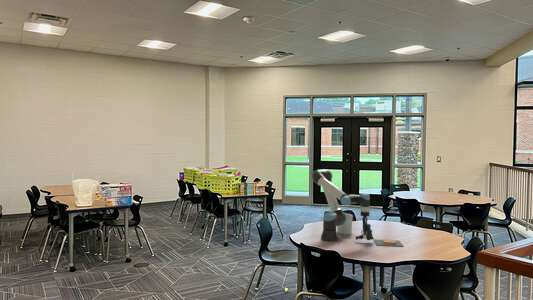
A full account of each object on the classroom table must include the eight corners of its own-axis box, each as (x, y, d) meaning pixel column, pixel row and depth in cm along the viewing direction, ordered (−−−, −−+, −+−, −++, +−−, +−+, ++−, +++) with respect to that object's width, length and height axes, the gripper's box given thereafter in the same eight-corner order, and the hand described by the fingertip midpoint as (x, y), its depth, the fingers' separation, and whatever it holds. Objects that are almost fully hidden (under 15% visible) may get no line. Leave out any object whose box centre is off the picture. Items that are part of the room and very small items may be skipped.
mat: (376, 245, 329) (376, 244, 329) (373, 240, 347) (373, 239, 347) (403, 246, 326) (403, 245, 326) (399, 241, 344) (399, 240, 344)
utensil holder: (350, 231, 381) (350, 213, 381) (354, 234, 366) (354, 216, 366) (335, 231, 381) (335, 213, 381) (338, 234, 366) (339, 216, 366)
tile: (384, 241, 332) (396, 242, 330) (382, 239, 342) (394, 239, 340) (384, 243, 332) (396, 244, 330) (382, 240, 342) (394, 241, 340)
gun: (352, 223, 341) (369, 219, 339) (356, 241, 341) (373, 238, 339) (352, 223, 339) (369, 220, 337) (357, 242, 338) (374, 238, 336)
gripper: (370, 213, 330) (370, 240, 331) (368, 209, 346) (367, 236, 346) (361, 212, 331) (361, 240, 332) (359, 209, 347) (359, 235, 347)
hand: (364, 238), depth 339 cm, fingers closed on gun, 3 cm apart
